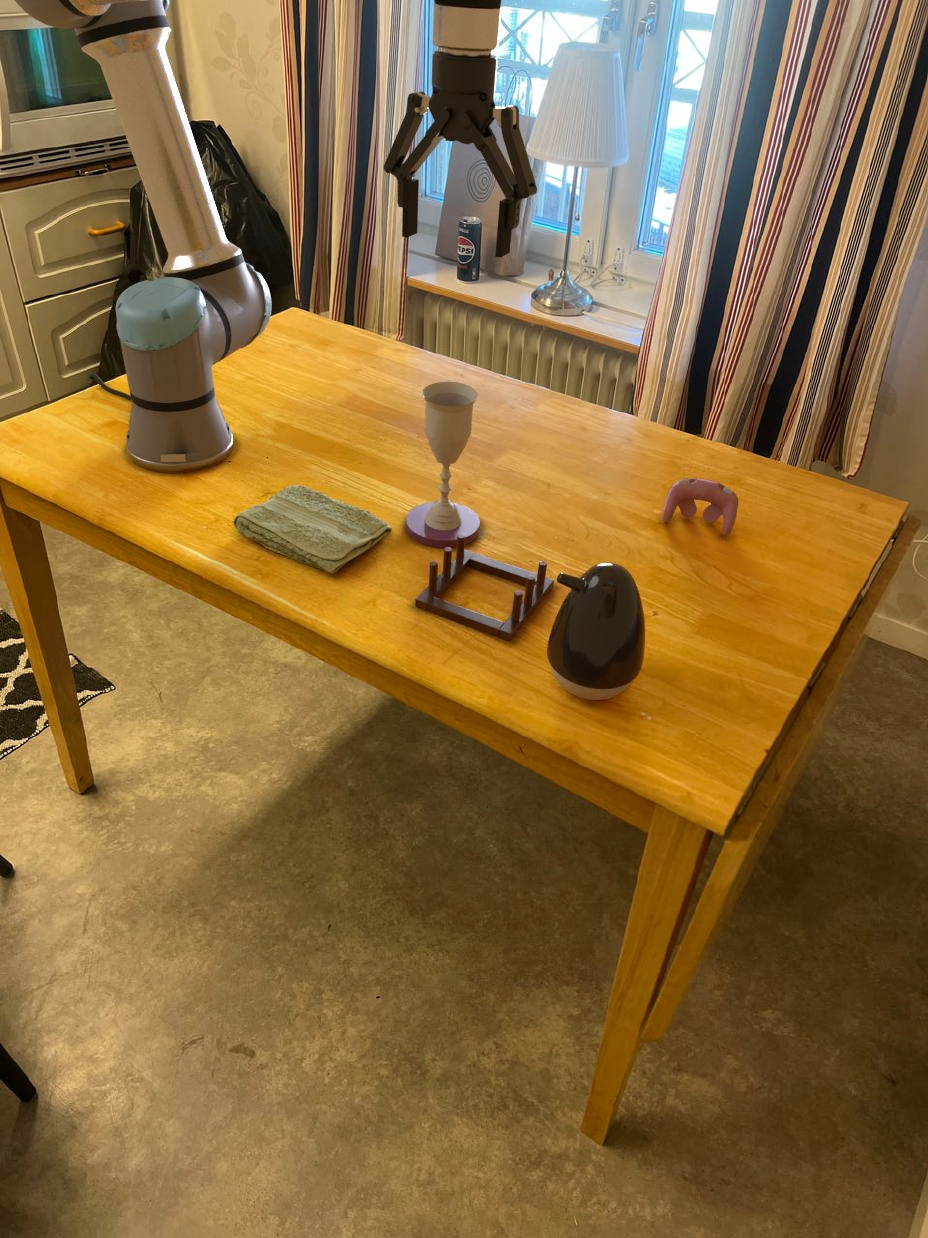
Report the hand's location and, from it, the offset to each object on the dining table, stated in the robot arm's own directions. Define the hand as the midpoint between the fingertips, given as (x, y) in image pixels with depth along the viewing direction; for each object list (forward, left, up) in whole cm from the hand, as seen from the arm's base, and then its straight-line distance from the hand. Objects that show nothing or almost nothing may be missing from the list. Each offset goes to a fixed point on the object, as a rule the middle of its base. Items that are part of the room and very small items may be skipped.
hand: (455, 244), depth 115 cm
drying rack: (+21, -27, -32) cm, 46 cm away
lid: (+9, -16, -32) cm, 36 cm away
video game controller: (+38, +5, -32) cm, 50 cm away
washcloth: (-5, -27, -32) cm, 42 cm away
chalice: (+9, -16, -31) cm, 36 cm away
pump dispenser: (+37, -35, -32) cm, 60 cm away
